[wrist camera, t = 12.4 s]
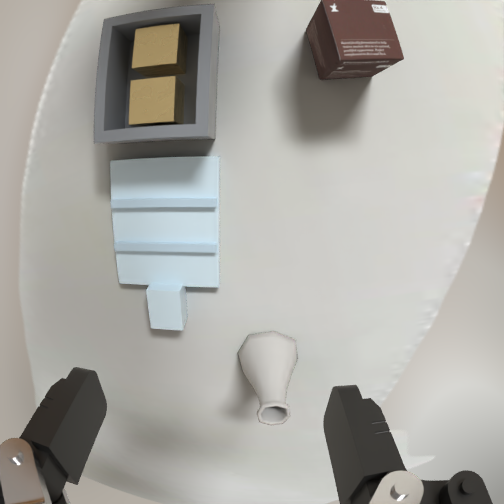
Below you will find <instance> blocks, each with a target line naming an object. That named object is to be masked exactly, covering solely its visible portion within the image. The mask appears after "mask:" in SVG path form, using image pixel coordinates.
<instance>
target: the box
mask: <svg viewBox="0 0 504 504" xmlns="http://www.w3.org/2000/svg"><path fill="white" fill-rule="evenodd" d="M306 32H307V35H308V39H309V42H310V45H311V49H312V53H313V56H314V60H315V64H316V67H317V71H318V75H319V79H321V80H324V79H340V78H356V77H372V76H374V75H376V74H377V73H379V72H381V71H383V70H385V69H386V68H388V67H390V66H392V65H393V64H395V63H397V62H399V61H401V60H403V59H404V57H403V53H402V50H401V47H400V43H399V40H398V37H397V34H396V31H395V28H394V25H393V22H392V19H391V16H390V13H389V10H388V8H387V6H386V3H385V2H384V1H376V0H321V2H320V4H319V5H318V7H317V9H316V11H315V13H314V15H313V17H312V19H311V21H310V23H309V25H308V27H307V28H306Z"/></svg>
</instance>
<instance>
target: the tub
mask: <svg viewBox="0 0 504 504" xmlns="http://www.w3.org/2000/svg"><path fill="white" fill-rule="evenodd" d="M178 23H180V25H181V27H182V29H183V30H184V32H185V34H186V36H187V38H188V42H187V57H186V73H185V74H178V75H166V76H155V77H144V76H143V75H141V74H140V73H138V72H137V71H135V70H134V69H132V60H133V49H134V40H135V32H136V29H139V28H146V27H153V26H160V25H169V24H178ZM219 32H220V26H219V22H218V18H217V13H216V9H215V5H214V4H205V5H191V6H180V7H171V8H163V9H156V10H149V11H143V12H137V13H131V14H126V15H121V16H117V17H112V18H108V19H104V22H103V28H102V35H101V42H100V50H99V58H98V68H97V78H96V92H95V110H94V144H122V143H134V142H148V141H165V140H191V139H215V134H216V98H217V72H218V50H219ZM169 76H176V77H177V78H178V79H179V80H180V81H181V82H182V83H183V84H184V85H185V94H184V124H182V125H163V126H148V127H139V126H133V125H129V104H130V86H131V81H132V80H140V79H148V78H158V77H169Z"/></svg>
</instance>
